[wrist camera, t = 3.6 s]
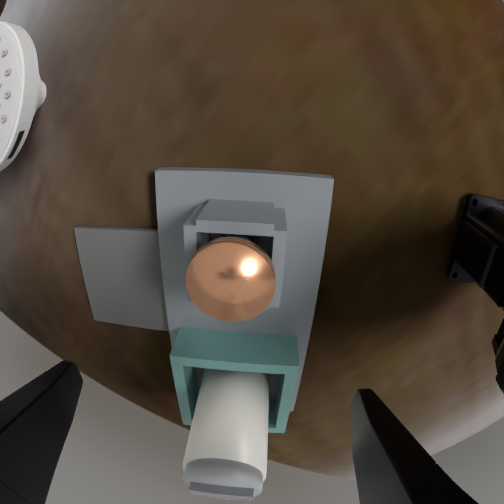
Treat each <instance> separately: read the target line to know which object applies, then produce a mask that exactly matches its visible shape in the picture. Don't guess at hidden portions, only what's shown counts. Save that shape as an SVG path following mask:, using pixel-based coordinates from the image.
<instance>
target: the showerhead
mask: <svg viewBox="0 0 504 504" xmlns="http://www.w3.org/2000/svg"><path fill="white" fill-rule="evenodd" d="M45 98H46V86H45V84H44V82H43V81H41V78H40V75H39V70H38V59H37V54H36V49H35V46H34V44H33V41H32V39H31V37H30V36H29V34H28V33H27V32H26V31H25V30H24V29H23V28H22V27H20V26H18V25H15V24H11V23H7V22H2V21H0V172H1V171H2V170H3V169H5V168H6V167H7V166H8V165H9V164H10V163H11V162H12V161H13V160H14V159H15V157H16V156H17V154H18V153H19V151H20V149H21V148H22V146H23V144H24V142H25V140H26V137H27V135H28V132H29V129H30V127H31V123H32V120H33V117H34V115H35V113H36V111H37V108H39V107H40V106H41V105H42V104H43V102H44V100H45Z"/></svg>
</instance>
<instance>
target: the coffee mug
mask: <svg viewBox="0 0 504 504" xmlns="http://www.w3.org/2000/svg"><path fill="white" fill-rule="evenodd" d="M5 3H6V0H0V16H1V14H2V11H3V9H4V6H5Z"/></svg>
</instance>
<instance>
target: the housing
mask: <svg viewBox="0 0 504 504" xmlns="http://www.w3.org/2000/svg"><path fill="white" fill-rule="evenodd" d="M333 184H334V178H333V177H332V176H331V175H321V174H310V173H298V172H285V171H270V170H252V169H230V168H192V167H160V168H159V169H157V170H155V186H156V205H157V221H158V235H159V247H160V258H161V268H162V278H163V287H164V296H165V304H166V312H167V319H168V326H169V333H170V340H171V347H172V350H171V353H170V361H171V366H172V372H173V377H174V383H175V388H176V393H177V398H178V403H179V407H180V412H181V417H182V421H183V424H186V425H192V421H193V416H194V412H195V407H196V403H197V399H198V395H199V390H200V386H201V382H202V377H203V373H204V369H205V368H208V369H218V370H228V371H240V372H254V373H270V374H269V413H268V433H285V429H286V425H287V421H288V416H289V412H290V411H293V410H294V406H295V402H296V397H297V393H298V389H299V384H300V380H301V375H302V371H303V366H304V362H305V357H306V352H307V347H308V342H309V337H310V332H311V327H312V322H313V317H314V311H315V306H316V300H317V295H318V289H319V283H320V277H321V271H322V265H323V258H324V252H325V245H326V238H327V231H328V224H329V216H330V209H331V201H332V193H333ZM222 234H240V235H256V236H259V247H261V248H262V249H263V250H264V251H265V252H266V253H267V255H268V256H269V258H270V259H271V261H272V263H273V266H274V269H275V294H274V297H273V299H272V301H271V303H270V305H269V306H268V307H267V308H266V309H265V310H264V311H263V312H262V313H261V314H259V315H258V316H256V317H254V318H251V319H248V320H245V321H238V322H229V321H223V320H219V319H216V318H213V317H211V316H209V315H207V314H206V313H204V312H203V311H201V310H200V309H199V308H198V307H197V306H196V305H195V304H194V302H193V301H192V299H191V298H190V296H189V294H188V291H187V288H186V272H187V269H188V267H189V265H190V263H191V260H192V258H193V257H194V255H195V253H196V252H197V251H198V249H199V248H200V247H202V246H203V245H204V244H206V243H207V242H209V241H211V240H214V239H217V238H221V237H222Z"/></svg>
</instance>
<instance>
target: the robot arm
mask: <svg viewBox="0 0 504 504" xmlns="http://www.w3.org/2000/svg"><path fill="white" fill-rule="evenodd" d="M474 199H475V201H474V203H473V204H472V201H473V200H474ZM453 273H455V274H454V275H453V276H452V274H453ZM447 277H448V279H449V280H450V281H452V282H475V283H476V284H477V285H478V286H479V287H480V288H482V289H483V290H484V291H485V292H486V293H487V294H488V296H489V297H490V298H491V299H492V300H493V301H494V302H495V304H496V305H497V306H498V307H501V309H502V310H503V311H504V200H500V199H496V198H492V197H487V196H483V195H478V194H470V195H469V196H468V197H467V200H466V205H465V209H464V213H463V218H462V222H461V225H460V229H459V233H458V237H457V240H456V244H455V248H454V251H453V254H452V258H451V262H450V265H449V268H448V271H447ZM492 345H493V349H494V353H495V356H496V359H495V362H496V369H497V373H498V374H497V375H496V381H497V383H498V385H499V387H500V389H501V391H502V392H503V393H504V319H503V321H502V323H501V325H500V328H499V330H498V332H497V334H495V336H494V338H493V340H492ZM82 384H83V379H82V377H81V374H80V372H79V370H78V368H77V365H76V364H75V363H74V362H71V361H67V360H64V361H62V362H60V363H58V364H57V365H55V366H54V367H52V368H51V369H49V370H48V371H46V372H44V373H43V374H41V375H40V376H38V377H37V378H35V379H34V380H32V381H30V382H29V383H28V384H26V385H24V386H23V387H21V388H20V389H18V390H17V391H15V392H13V393H12V394H10V395H9V396H7V397H6V398H4V399H3V400H1V401H0V504H45V501H46V498H47V495H48V491H49V488H50V485H51V482H52V478H53V475H54V472H55V469H56V466H57V463H58V460H59V457H60V454H61V451H62V449H63V446H64V443H65V440H66V437H67V435H68V432H69V429H70V427H71V424H72V421H73V417H74V414H75V410H76V406H77V403H78V399H79V395H80V392H81V388H82ZM350 414H351V433H352V453H353V461H354V467H355V473H356V480H357V486H358V493H359V500H360V504H478V503H477V502H476V501H475V500H474V499H472V498H471V497H470V496H469V495H468V494H467V493H466V492H465V491H463V490H462V489H461V488H460V487H459V486H458V485H457V484H455V482H454V481H453V480H452V479H451V478H450V477H449V476H448V475H447V474H446V473H445V472H444V471H443V470H442V468H441V467H440V466H439V465H438V464H436V462H435V461H434V460H433V458H432V457H431V456H430V455H429V454H428V453H427V452H426V450H425V449H424V448H423V447H422V446H421V445H420V444H419V442H418V441H417V440H416V439H415V438H414V437H413V436H412V435H411V433H410V432H409V431H408V430H407V429H406V428H405V427H404V425H403V424H402V423H401V422H400V421H399V420H398V419H397V417H396V416H395V415H394V414H393V413H392V412H391V411H390V410H389V408H388V407H387V406H386V405H385V404H384V403H383V402H382V400H381V399H380V398H379V397H378V396H377V395H376V394H375V393H374V391H373V390H372V389H369V388H368V389H358V390H357V392H356V394H355V397H354V399H353V402H352V404H351V409H350Z"/></svg>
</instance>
